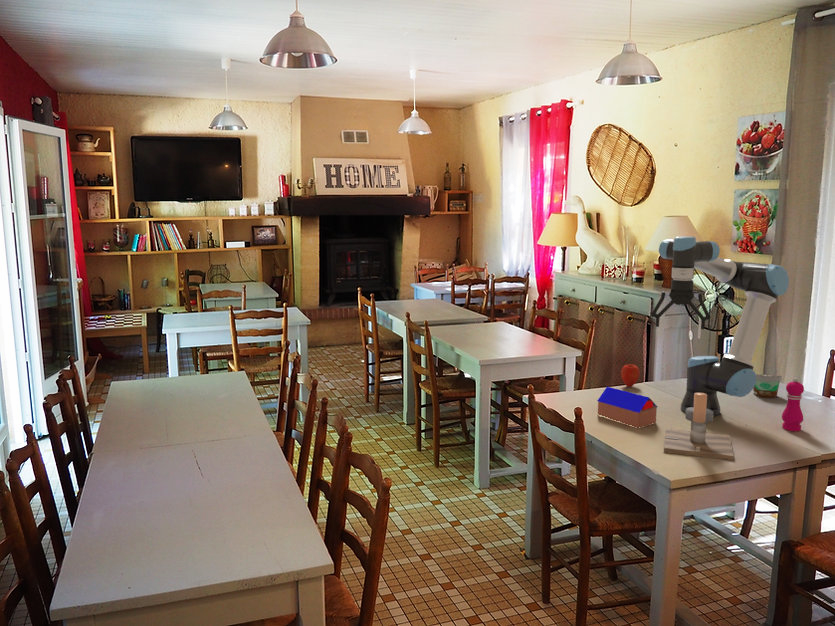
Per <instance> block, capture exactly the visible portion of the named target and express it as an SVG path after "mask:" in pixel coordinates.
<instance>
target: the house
mask: <svg viewBox="0 0 835 626" xmlns="http://www.w3.org/2000/svg"><path fill="white" fill-rule="evenodd" d="M657 408H658V406H657V404H656V403H655V402H654V401H653V400H652V399H651V398H650V397H649V396H646V395H645V396H644V395H641V394H638V393H634V392H630V391H626V390H621V389H619V388H614V387H611V386H606V388H604V391H603V392H602V393H601V395H600V396H599V398H598V399H597V415H598V414H599V415H602V416H605V417H608V418H610V419H613V420H616V421H620V422H622V423H625V424H628V425H632V426H634V427H637V428H639V427H642V428H644V427H643V426H645V427H647V426H646V425H648V426H650V425H649V424H651V425H653V424H652V423H655V424H657V412H658V411H657ZM628 425H627V426H628ZM634 427H633V428H634ZM637 428H636V429H637ZM639 429H640V428H639Z"/></svg>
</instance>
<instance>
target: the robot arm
mask: <svg viewBox="0 0 835 626" xmlns="http://www.w3.org/2000/svg"><path fill="white" fill-rule="evenodd" d="M720 248H721V247H720V246H719V245H718V243H717V242H715V241H712V240H705V241H704V240H702V241H701V240H697V239H696V237H694V236H676V237H675V238H674V239H664V240H662V241H661V242H660V243H659V246H658V254H659V256H660V257H661V258H662V259H665V260H671V261H672V266H671V280H670V281H671V283H670V292H666V291H662V292H661V295H660V296H661V297H660V299H659V300H658V301H657V303H656V305H655V306H654V307H653V310H652V311H651V314H650V316H651V317H654V318H655V327H656V328H658V337H661V336H662V335H661V334H662V322H663V321H662V318H663V317H662V316H663V315H664V314H665V313H666V312H667V311H668V310H670V308H671V307H672V306H673V305H676V306H680V305H681V306H687V305H688V306H689V307H690V308H691V309H692V311H694V312H695V314H696V315H697V316H698V318H699V319H698V328H697V329H698V331H697V339H700V340H701V336H702V335H701V332H702V330H705V321H708V320H711V314H710V312H709V311H708V308H707V307H706V304H705V302H704V300H703V294H702V292H698V293H694V280H693V279H695V270H696V271H697V270H698V271H700V272H702V273H705V274H707V275H711V277H712V276H713V278H714V277H715V279H716V280H717V281H718V282H720V283H722V284H725V285H727V286H729V287H732V288H735V289H737V290H740V291H744V295H745V296H746V301H745V304H744V306H743V310H742V313H741V316H740V318H739V321H738V324H737V328H736V330H735V333H734V336H733V339H732V342H731V345H730V348H729V351H728V354H726V355H724V356H723V357H722V358H721V361H720V358H719V357H718V356H715V355H698V356H697V355H696V356H691V357H690V358H689V359H688V362H687V367H686V368H687V371H686V372H687V373H686V388H685V389H686V391H685V394H684V396H683V398H682V401H681V404H680V410H681V411H682V412H683V413H685V414H686V409H687V408H690V407H694V393H705V394H707V406H706V409H710V410H712V411H713V417H714V416H715V417H716V416H719V415H720V414H721V405H720V401H719V398H718V394H717V393H721V394H725V395H728V396H731V397H737V398H744V397H745V396H747V395H749V394H750V393H752V391H753V388H754V386H755V384H756V378H755V377H756V374H757V373H756V372H755V370H754V369H755V368H754V366H755V365H754V364H753V362H752V360H753V357H754V355H755V351H756V348H757V344H758V342H759V339H760V336H761V333H762V331H763V327H764V324H765V322H766V319H767V315H768V313H769V310H770V307H771V305H772V304H773V303H775V302H777V300H778V297H780V296H783V295H784V294H785V293H787V292H788V289H789V284H790V279H789V274H788V271H787V269H786V268H785V267H784V266H783V265H779V264H773V263H759V262H758V263H757V262H746V261H745V262H744V261H743V262H742V261H734V260H732V259H724V258H721V257H719V256H720V252H721V249H720ZM668 297H669V298H670V299H671V300H670V301H668V303H667V304H666V305H665V306H664V307H662V309H661V310H660V311H659V312H658V310H659V308H660V307H661V306H662V304H663V302H664V300H665V299H667V298H668ZM693 298H695V299H696V300H698V303H699V304H700V307H701V309H702V311H703V312H704V314H703V313H702V312H701V311H700V310H699V308H697V306H696V305H695V304H694V303H693V301H692V300H693ZM657 312H658V313H657Z"/></svg>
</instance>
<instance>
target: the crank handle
mask: <svg viewBox="0 0 835 626" xmlns="http://www.w3.org/2000/svg"><path fill="white" fill-rule="evenodd" d="M706 406H707V394H705V393H694V407H690V408H687V409H686V413H685V415H684V416H685V419H686V420H687V421H690V422H691V421H692V422H695V426H703V423H706V424H709V423H712V422H713V421H714V416H713V411H712V410H710V409H706Z"/></svg>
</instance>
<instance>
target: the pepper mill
mask: <svg viewBox="0 0 835 626" xmlns="http://www.w3.org/2000/svg"><path fill="white" fill-rule="evenodd" d="M785 390H786V398H787V403H786V406H785V408H784V409H783V411H782V414H781V419H782V420H783V423H782V429H784V430H786V431H790V432H800V431H802V423H803V421H804V414H803V411H802V409H801V400H802V399H803V398H802V397H803V396H802V394H803V393H804V392H805V387H804V385H803V383H801V382H800V381H799V379H798V377H794V378H793V379H792V381H790V382H788V383H787V384H786V386H785Z"/></svg>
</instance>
